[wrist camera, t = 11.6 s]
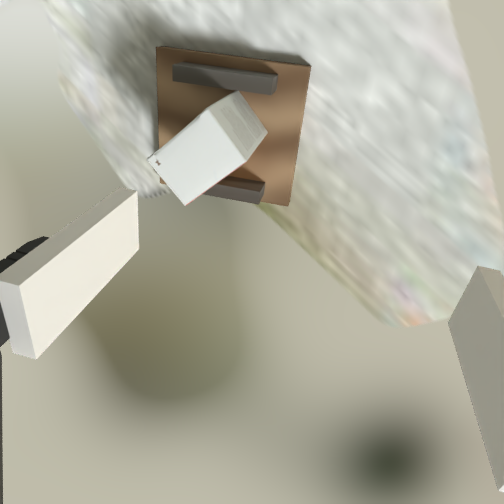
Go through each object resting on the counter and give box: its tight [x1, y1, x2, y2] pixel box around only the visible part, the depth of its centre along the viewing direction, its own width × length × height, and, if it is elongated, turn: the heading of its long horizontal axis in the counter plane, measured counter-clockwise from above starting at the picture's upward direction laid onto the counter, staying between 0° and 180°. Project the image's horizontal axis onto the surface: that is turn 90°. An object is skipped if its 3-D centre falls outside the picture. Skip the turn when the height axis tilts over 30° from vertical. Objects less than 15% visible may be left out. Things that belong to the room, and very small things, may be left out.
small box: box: [147, 90, 268, 206], centre depth 39 cm, size 8×6×10 cm
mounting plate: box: [156, 46, 311, 206], centre depth 43 cm, size 15×16×4 cm
